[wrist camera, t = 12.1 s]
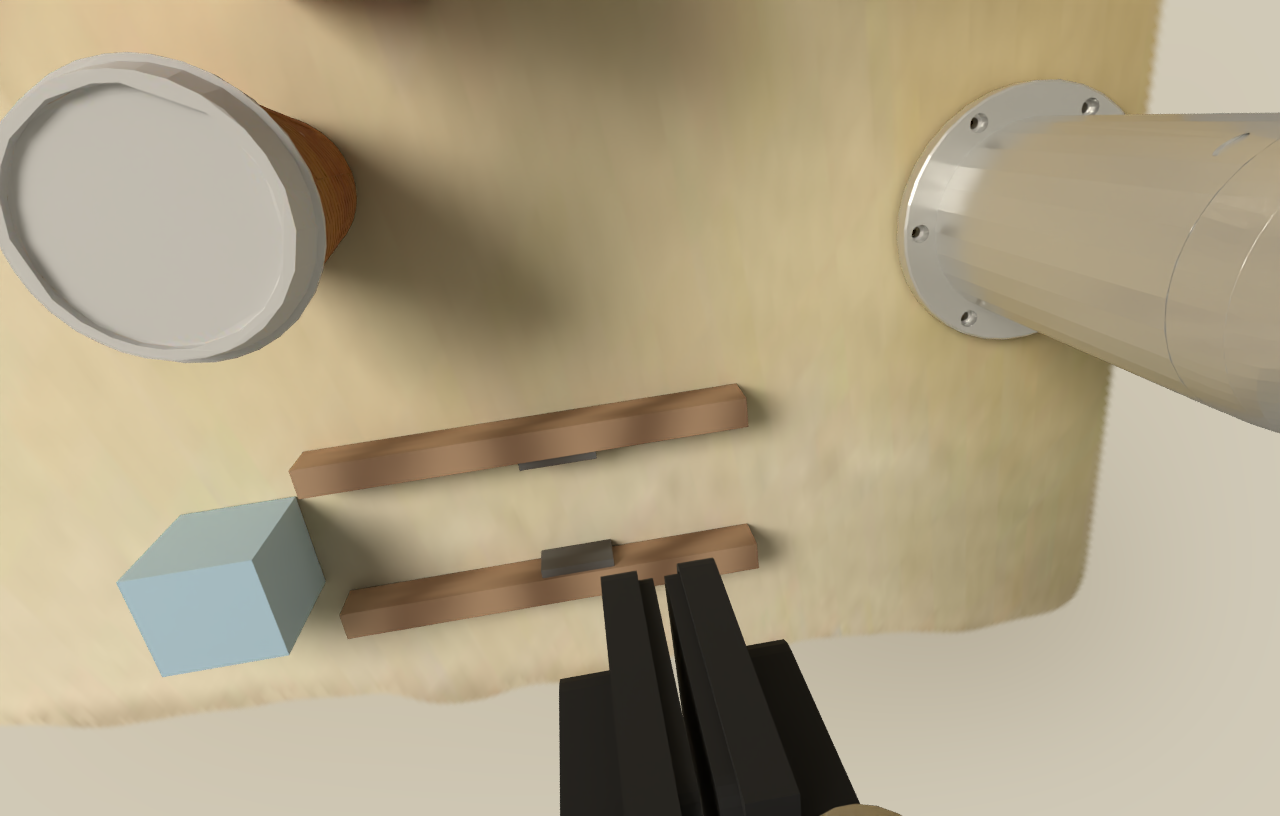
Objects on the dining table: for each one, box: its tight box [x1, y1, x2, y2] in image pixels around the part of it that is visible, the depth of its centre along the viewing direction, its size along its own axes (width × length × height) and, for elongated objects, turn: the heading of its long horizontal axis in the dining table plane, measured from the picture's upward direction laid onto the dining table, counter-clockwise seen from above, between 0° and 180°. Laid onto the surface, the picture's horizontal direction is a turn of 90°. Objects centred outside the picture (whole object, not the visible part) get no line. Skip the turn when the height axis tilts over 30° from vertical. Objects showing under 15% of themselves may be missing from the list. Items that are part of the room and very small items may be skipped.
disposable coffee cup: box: [0, 52, 357, 363], centre depth 27 cm, size 10×10×12 cm
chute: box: [289, 384, 759, 639], centre depth 39 cm, size 23×10×2 cm, turn 97°
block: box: [116, 497, 326, 677], centre depth 36 cm, size 6×6×6 cm
